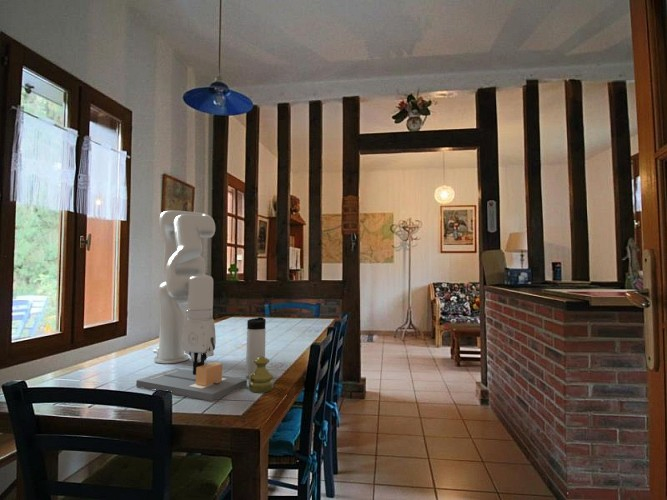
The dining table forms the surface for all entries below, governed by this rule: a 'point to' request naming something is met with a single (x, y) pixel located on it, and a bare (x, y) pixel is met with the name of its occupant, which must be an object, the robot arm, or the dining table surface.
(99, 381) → the dining table surface
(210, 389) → the fader console
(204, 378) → the fader knob
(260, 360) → the olive metallic turned piece
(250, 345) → the travel mug
